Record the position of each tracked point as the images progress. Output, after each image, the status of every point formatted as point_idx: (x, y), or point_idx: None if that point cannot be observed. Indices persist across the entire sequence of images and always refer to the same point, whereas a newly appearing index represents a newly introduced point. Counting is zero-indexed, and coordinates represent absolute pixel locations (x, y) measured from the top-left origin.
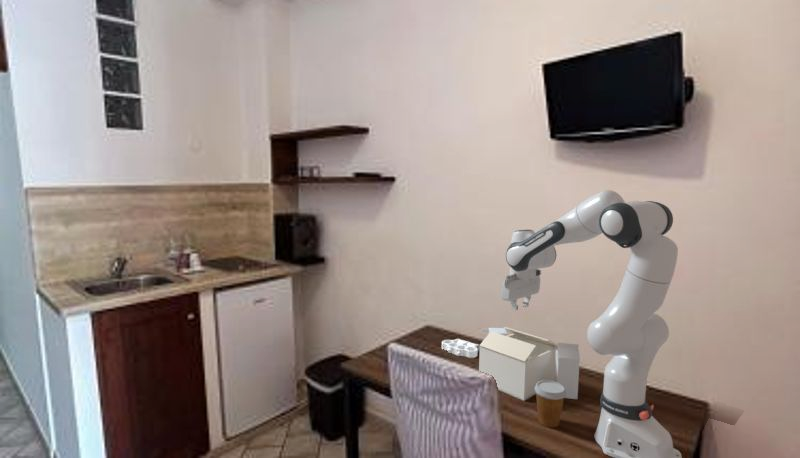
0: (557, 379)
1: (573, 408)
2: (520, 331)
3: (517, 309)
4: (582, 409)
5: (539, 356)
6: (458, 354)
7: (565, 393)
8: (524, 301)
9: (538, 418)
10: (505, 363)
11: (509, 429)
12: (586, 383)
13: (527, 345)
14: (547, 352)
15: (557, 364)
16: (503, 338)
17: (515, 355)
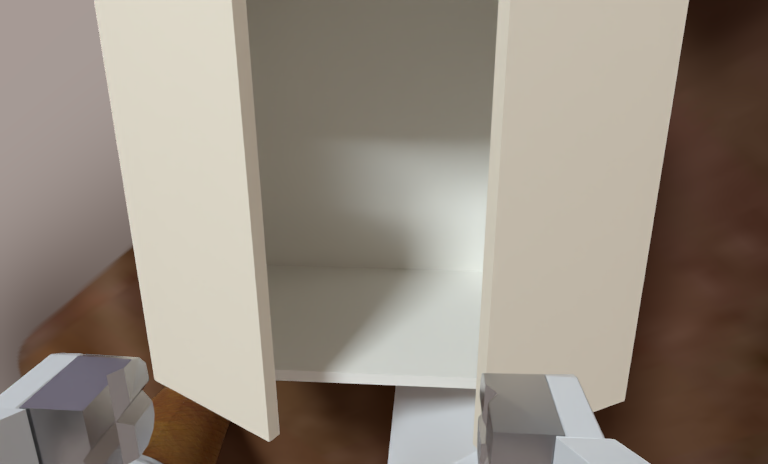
0: (394, 402)
1: (366, 430)
2: (498, 155)
3: (128, 445)
4: (387, 455)
5: (344, 381)
6: None
7: None
8: (552, 455)
9: (157, 394)
10: None
11: (29, 344)
12: (654, 378)
13: (243, 375)
14: (455, 387)
15: (406, 446)
16: (214, 125)
17: (155, 304)
